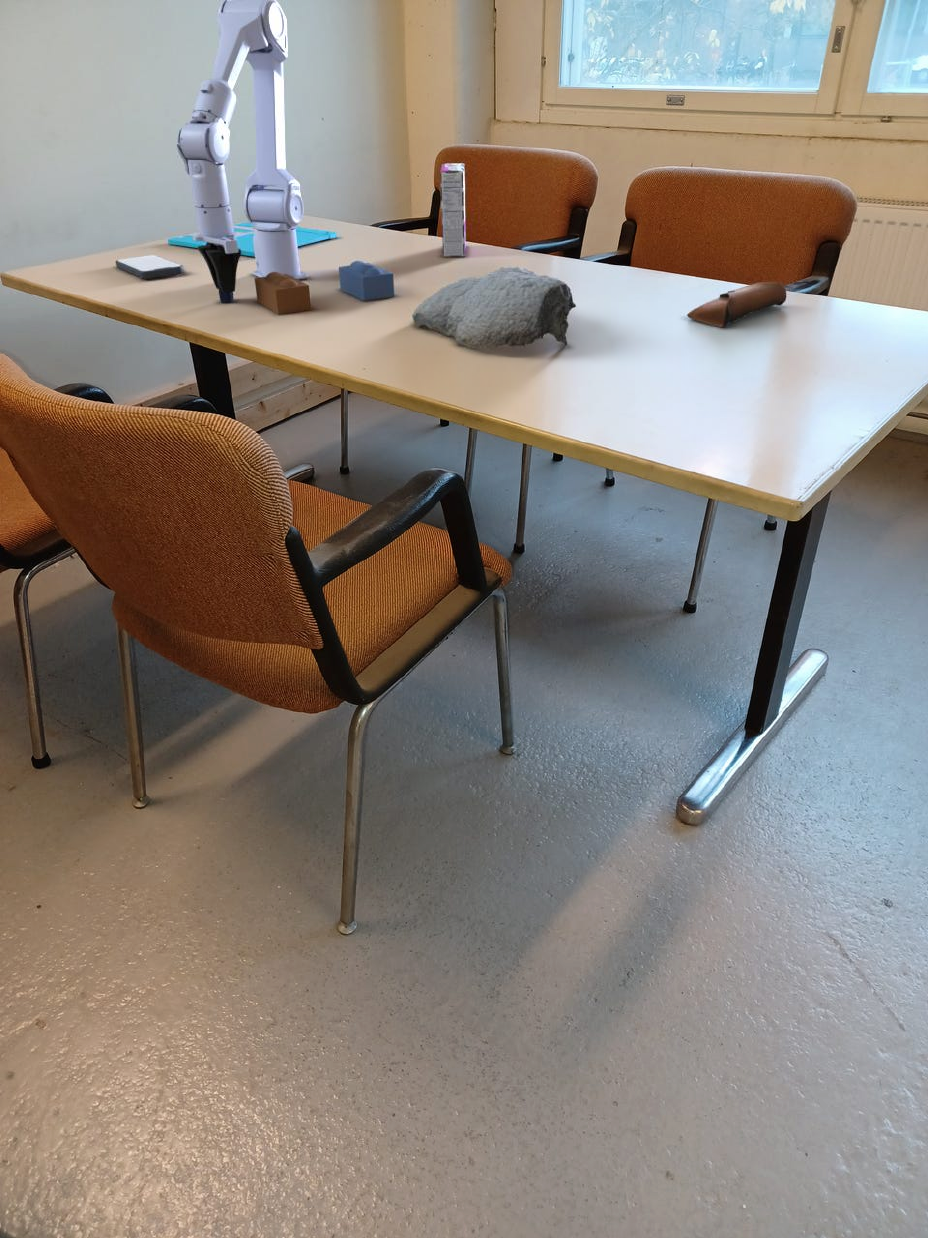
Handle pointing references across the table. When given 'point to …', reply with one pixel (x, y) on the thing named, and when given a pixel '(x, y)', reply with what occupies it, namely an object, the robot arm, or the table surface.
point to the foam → (499, 309)
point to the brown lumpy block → (282, 293)
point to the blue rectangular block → (366, 281)
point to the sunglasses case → (739, 303)
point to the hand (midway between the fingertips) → (225, 289)
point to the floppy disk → (246, 235)
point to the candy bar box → (453, 209)
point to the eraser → (225, 295)
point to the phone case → (149, 266)
